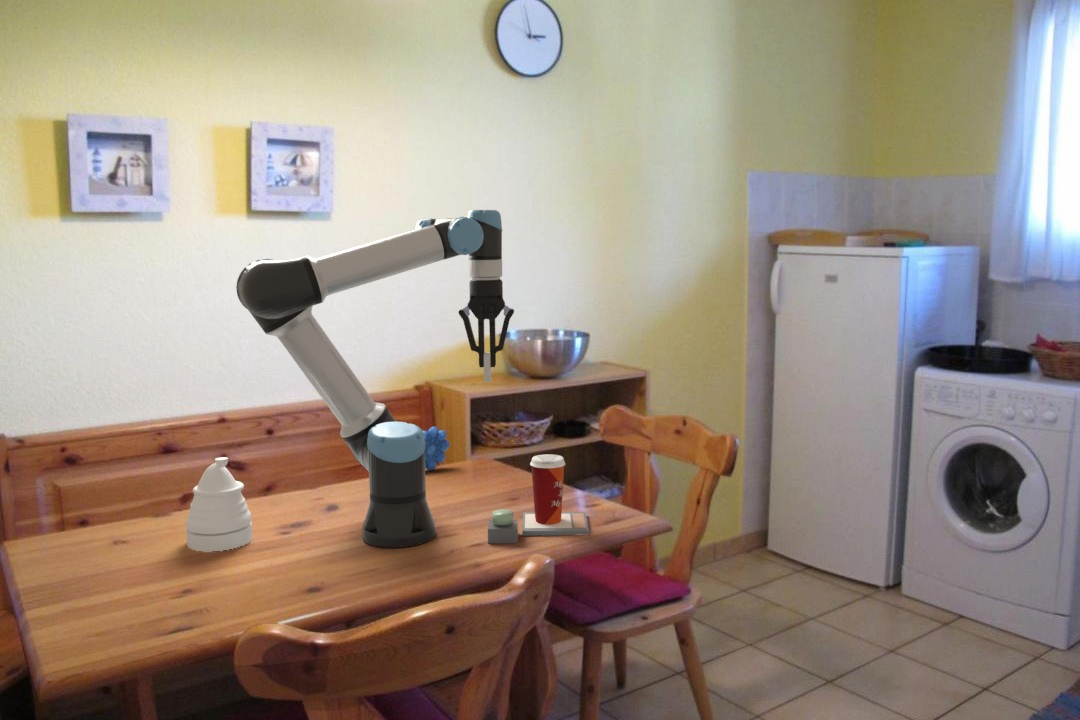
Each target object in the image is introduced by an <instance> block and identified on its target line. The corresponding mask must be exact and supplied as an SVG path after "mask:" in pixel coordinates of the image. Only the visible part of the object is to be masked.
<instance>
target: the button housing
mask: <svg viewBox="0 0 1080 720" xmlns="http://www.w3.org/2000/svg"><path fill="white" fill-rule="evenodd" d="M513 520H514V522H513V523H512V524H509V525H496V524H493V523H492V519H489V521H488V525H487V526H488V527H487V542H488V543H487V544H518V536H519V535H518V533H519V531H518V530H519V529H518V528H519V525H518V523H519V521H518V519H513Z"/></svg>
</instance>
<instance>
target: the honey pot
mask: <svg viewBox="0 0 1080 720" xmlns="http://www.w3.org/2000/svg"><path fill="white" fill-rule="evenodd" d="M214 462H215V463H212V464H210V465H209V466H208V467H207V468H206V469H205V471H204V472H203V474H202V476H201V478H200V479H199V482H198V484H197V485H196V486H194V487H193V488H192V493H193V499H192V502H190V506H189V507H190V508H189V509H188V516H187V517H186V522H185V525H186V526H185V527H186V545H187V546H188V547H189V548H191V549H194V550H198V551H204V552H203V553H213V552H212V551H220V552H224V551H223V550H227V551H230V550H229V549H232V550H234V549H233V548H236V549H238V548H237V547H239V548H241V547H240V546H242V547H244V546H246V545H245V544H247V543H248V544H249V542H250V543H251V542H252V541H253V527H252V525H253V524H252V513H251V511H250V510H249V508H248V504H247V502H246V498H245V497H244V495H243V494H242V491H243V489H245V485H244V483H243V482H241V481H238V480H235V477H234V476H233V475H232V474H231V472H230V471H229V470H228V468H227V467H226V466H227V465H228V462H229V458H228V457H225V456H221V457H216V458H214ZM251 540H252V541H251ZM248 544H247V545H248ZM243 545H244V546H243ZM187 546H186V547H187ZM188 547H187V548H188ZM189 548H188V549H189ZM191 549H190V550H191ZM198 551H197V552H198Z"/></svg>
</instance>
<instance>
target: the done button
mask: <svg viewBox="0 0 1080 720" xmlns="http://www.w3.org/2000/svg"><path fill="white" fill-rule="evenodd" d="M491 515H492V518H491V520H492V523H493V524H496V525H509V524H512V523H513V522H514V520H515V519H514V511H513V510H511V509H496V510H493V511H492V513H491Z"/></svg>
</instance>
